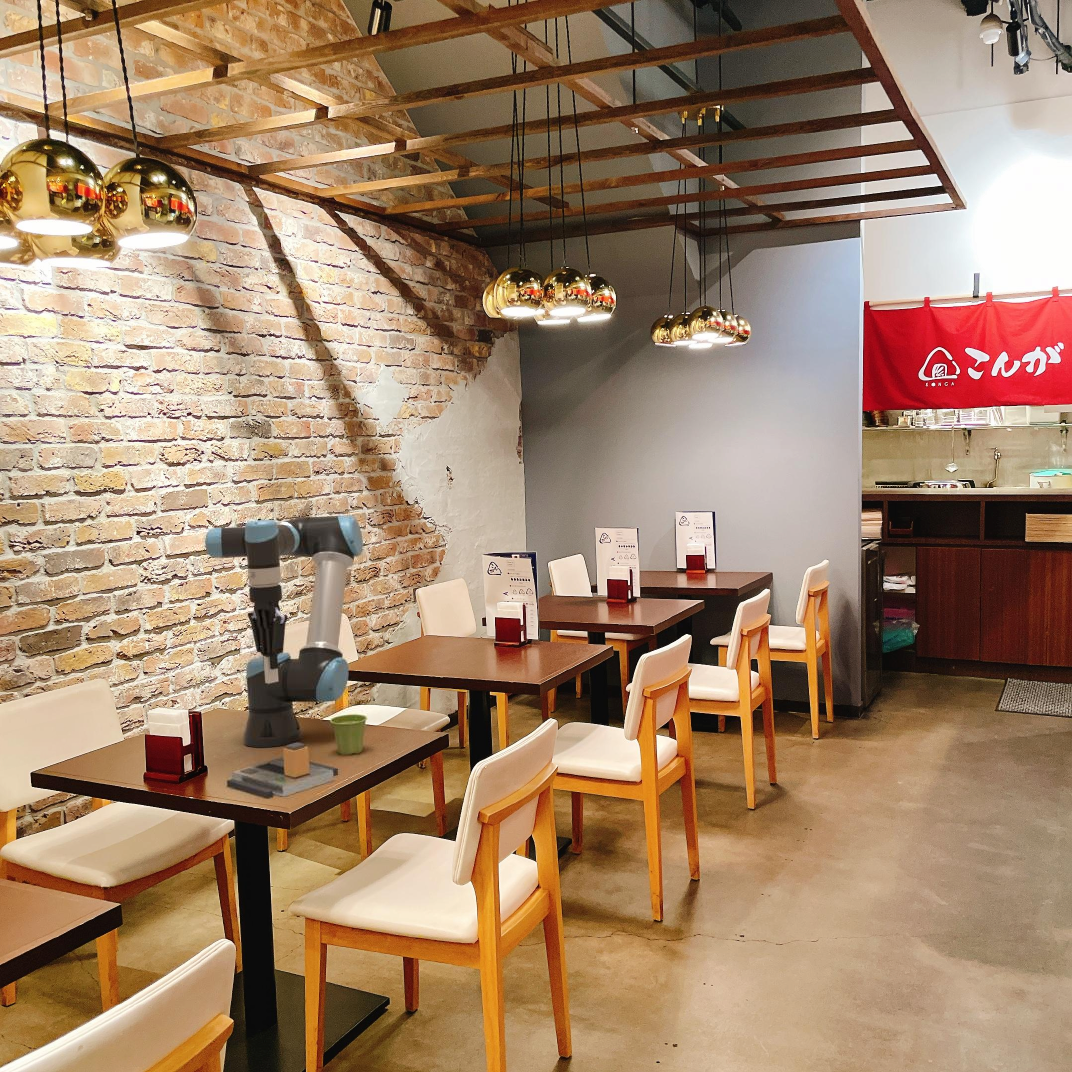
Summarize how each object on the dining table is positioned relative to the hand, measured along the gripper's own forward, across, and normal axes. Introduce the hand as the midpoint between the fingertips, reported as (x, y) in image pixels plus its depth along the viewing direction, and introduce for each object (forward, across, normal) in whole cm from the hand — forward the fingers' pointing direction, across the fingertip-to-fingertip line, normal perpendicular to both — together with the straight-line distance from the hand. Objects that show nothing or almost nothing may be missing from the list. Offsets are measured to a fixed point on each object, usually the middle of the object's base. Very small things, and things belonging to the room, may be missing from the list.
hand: (271, 682), depth 241 cm
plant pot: (+23, +2, +21) cm, 31 cm away
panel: (+22, +8, -4) cm, 24 cm away
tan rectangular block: (+19, +14, -4) cm, 24 cm away
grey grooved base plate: (+22, +8, -4) cm, 24 cm away
